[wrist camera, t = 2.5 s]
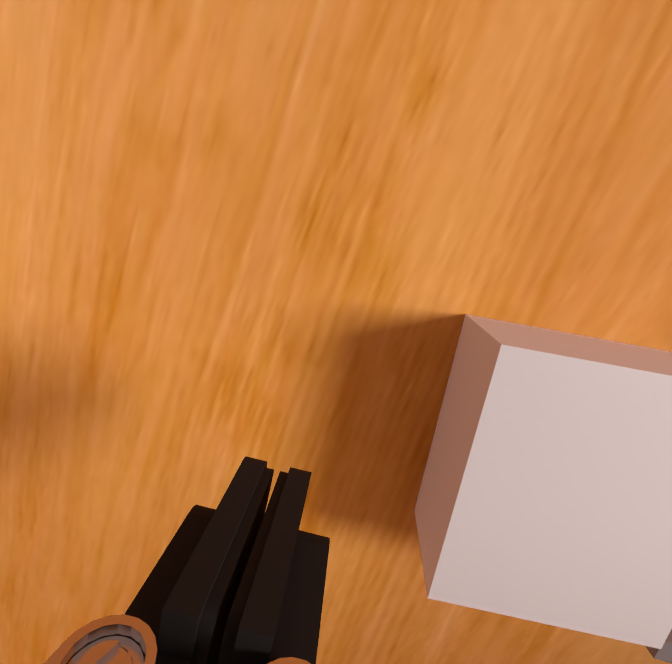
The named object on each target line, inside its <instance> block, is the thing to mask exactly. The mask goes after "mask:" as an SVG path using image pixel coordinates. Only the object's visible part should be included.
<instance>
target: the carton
mask: <svg viewBox="0 0 672 664" xmlns="http://www.w3.org/2000/svg"><path fill="white" fill-rule="evenodd" d="M414 512H415V518H416V525H417V531H418V538H419V544H420V551H421V558H422V564H423V571H424V577H425V584H426V591H427V597H428V598H429V599H433V600H438V601H443V602H447V603H452V604H456V605H461V606H465V607H470V608H475V609H479V610H484V611H488V612H493V613H497V614H502V615H507V616H511V617H516V618H520V619H525V620H530V621H534V622H539V623H543V624H548V625H552V626H557V627H562V628H566V629H571V630H575V631H580V632H584V633H589V634H594V635H598V636H603V637H607V638H612V639H616V640H621V641H626V642H630V643H635V644H639V645H644V646H649V647H653V648H658V649H661V648H662V646H663V644H664V643H665V641H666V639H667V637H668V635H669V633H670V631H671V629H672V352H670V351H666V350H660V349H655V348H649V347H644V346H638V345H633V344H627V343H622V342H616V341H611V340H605V339H600V338H594V337H589V336H583V335H578V334H572V333H567V332H561V331H556V330H550V329H545V328H539V327H534V326H528V325H523V324H517V323H512V322H506V321H501V320H495V319H490V318H484V317H479V316H473V315H468V314H465V318H464V322H463V325H462V329H461V333H460V337H459V341H458V345H457V348H456V352H455V356H454V360H453V364H452V368H451V371H450V375H449V379H448V383H447V387H446V391H445V395H444V398H443V402H442V406H441V410H440V414H439V418H438V421H437V425H436V429H435V433H434V437H433V441H432V444H431V448H430V452H429V456H428V460H427V464H426V468H425V471H424V475H423V479H422V483H421V487H420V491H419V494H418V498H417V502H416V506H415V510H414Z"/></svg>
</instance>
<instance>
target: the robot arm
mask: <svg viewBox="0 0 672 664" xmlns="http://www.w3.org/2000/svg"><path fill="white" fill-rule="evenodd" d="M273 472H274V470H273V469H269V468H267V461H262V460H258V459H254V458H250V457H245V458H244V459H243V461H242V463H241V465H240V467H239V469H238V470H237V472H236V474H235V476H234V478H233V480H232V481H231V483H230V485H229V487H228V489H227V491H226V493H225V494H224V496H223V498H222V500H221V502H220V504H219V505H218V507H217V509H216V510H215V509H211V508H207V507H203V506H199V505H195V506H194V507H193V508H192V509H191V511H190V512H189V514H188V515H187V517H186V518H185V520H184V521H183V523H182V525H181V526H180V528H179V529H178V531H177V532H176V534H175V536H174V537H173V539H172V540H171V542H170V544H169V545H168V547H167V548H166V550H165V551H164V553H163V555H162V556H161V558H160V559H159V561H158V562H157V564H156V566H155V567H154V569H153V570H152V572H151V573H150V575H149V577H148V578H147V580H146V581H145V583H144V585H143V586H142V588H141V589H140V591H139V592H138V594H137V596H136V597H135V599H134V600H133V602H132V603H131V605H130V607H129V608H128V610H127V611H126V613H125V615H111V616H107V617H104V618H101V619H98V620H94V621H92V622H90V623H89V624H87V625H85V626H84V627H82V628H80V629H78V630H77V631H76V632H75V633H73V634H72V635H71V636H70V637H69V638H68V639H67V640H66V641H65V642H63V643H62V644H61V645H60V647H59V648H58V649H57V650H56V651H55V652H54V653H53V654H52V655H51V656H50V658H49V659H48V660H47V661H46V662H45V663H44V664H316V656H317V647H318V639H319V630H320V621H321V613H322V604H323V595H324V587H325V578H326V569H327V561H328V552H329V542H330V538H328V537H324V536H320V535H316V534H312V533H308V532H304V531H300V530H299V525H300V521H301V517H302V512H303V508H304V503H305V499H306V494H307V490H308V486H309V481H310V477H311V472H307V471H303V470H299V469H295V468H291V467H290V470H289V473H285V472H281V471H280V473H279V476H278V479H277V482H276V484H275V487H274V490H273V493H272V496H271V498H270V501H269V504H268V507H267V509H266V506H267V501H268V496H269V492H270V487H271V482H272V477H273ZM265 510H266V512H265Z"/></svg>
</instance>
